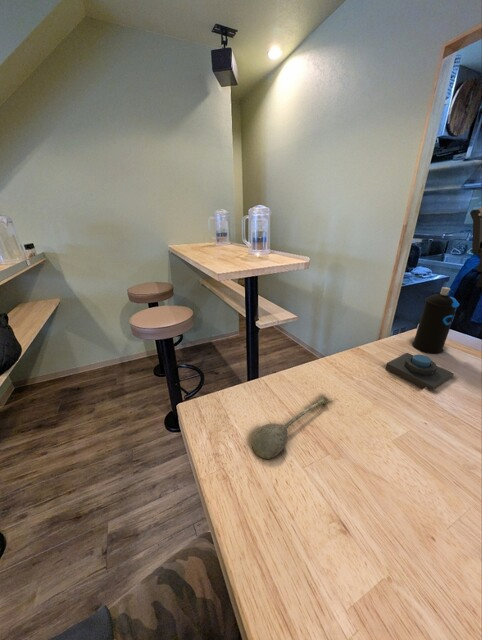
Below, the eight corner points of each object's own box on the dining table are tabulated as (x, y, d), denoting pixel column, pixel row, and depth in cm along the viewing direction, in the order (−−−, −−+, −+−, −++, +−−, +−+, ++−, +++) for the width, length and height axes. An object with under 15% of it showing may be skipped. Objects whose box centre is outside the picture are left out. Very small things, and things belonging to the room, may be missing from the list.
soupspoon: (245, 444, 52) (266, 469, 47) (245, 433, 50) (266, 458, 46) (315, 394, 63) (337, 411, 58) (316, 384, 61) (340, 400, 57)
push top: (432, 365, 67) (434, 359, 66) (424, 370, 65) (426, 364, 64) (416, 358, 70) (418, 352, 69) (408, 362, 68) (410, 357, 67)
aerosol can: (409, 348, 81) (426, 289, 73) (415, 338, 86) (431, 282, 78) (440, 357, 76) (463, 294, 67) (444, 346, 81) (465, 287, 73)
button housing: (451, 380, 66) (456, 367, 65) (431, 394, 62) (435, 381, 60) (405, 358, 76) (408, 347, 74) (385, 369, 72) (387, 357, 70)
